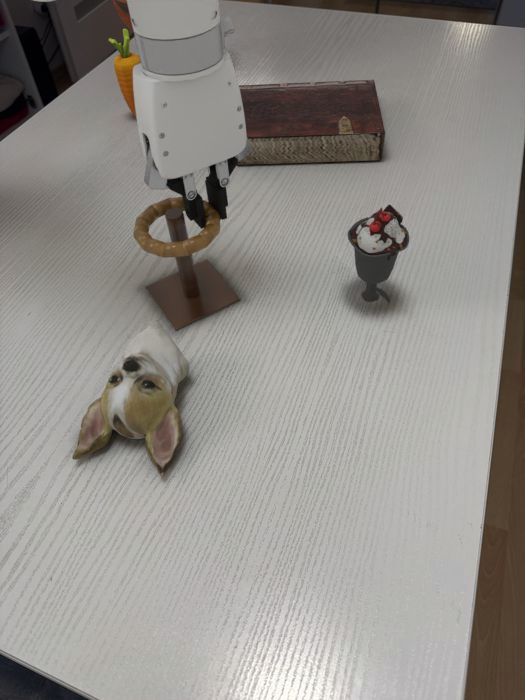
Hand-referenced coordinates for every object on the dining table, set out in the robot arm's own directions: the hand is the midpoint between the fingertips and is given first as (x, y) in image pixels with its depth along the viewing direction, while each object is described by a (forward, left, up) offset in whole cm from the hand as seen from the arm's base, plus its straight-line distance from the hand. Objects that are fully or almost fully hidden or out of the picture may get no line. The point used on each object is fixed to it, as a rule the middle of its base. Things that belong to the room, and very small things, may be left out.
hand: (208, 216), depth 62 cm
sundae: (+14, -13, -11) cm, 22 cm away
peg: (-4, 0, -11) cm, 12 cm away
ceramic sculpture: (-16, -13, -11) cm, 23 cm away
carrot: (+9, +47, -11) cm, 49 cm away
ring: (-4, 0, 0) cm, 4 cm away
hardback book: (+28, +26, -11) cm, 40 cm away
